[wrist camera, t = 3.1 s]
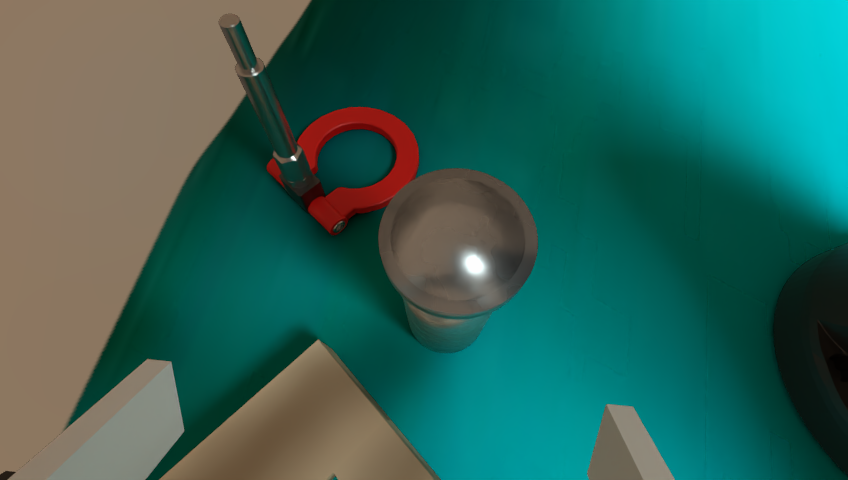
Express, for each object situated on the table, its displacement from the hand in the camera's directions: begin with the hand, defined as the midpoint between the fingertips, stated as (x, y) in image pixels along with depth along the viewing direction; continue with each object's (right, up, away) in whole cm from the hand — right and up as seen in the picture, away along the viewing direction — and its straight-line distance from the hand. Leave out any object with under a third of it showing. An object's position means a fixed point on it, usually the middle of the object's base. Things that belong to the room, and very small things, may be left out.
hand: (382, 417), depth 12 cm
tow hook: (-4, +10, +16) cm, 19 cm away
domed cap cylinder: (+3, +1, +11) cm, 11 cm away
